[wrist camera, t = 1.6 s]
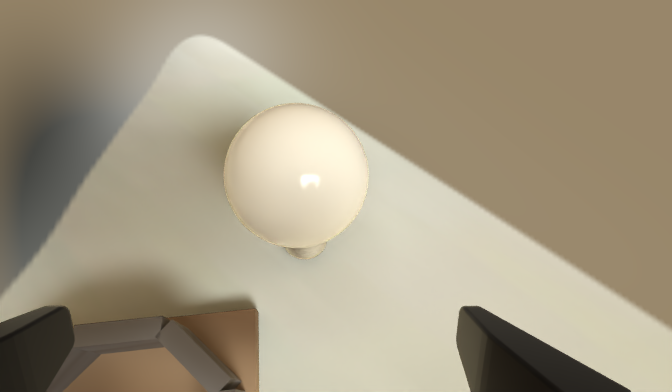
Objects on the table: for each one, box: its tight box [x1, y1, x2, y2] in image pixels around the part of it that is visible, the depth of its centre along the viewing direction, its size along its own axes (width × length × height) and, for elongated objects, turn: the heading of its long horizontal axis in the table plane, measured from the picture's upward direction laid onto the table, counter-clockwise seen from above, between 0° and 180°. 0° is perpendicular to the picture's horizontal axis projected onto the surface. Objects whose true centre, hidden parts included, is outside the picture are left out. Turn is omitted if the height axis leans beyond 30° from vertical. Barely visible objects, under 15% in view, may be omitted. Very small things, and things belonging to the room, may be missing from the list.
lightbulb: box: [224, 103, 369, 259], centre depth 19 cm, size 6×6×11 cm
